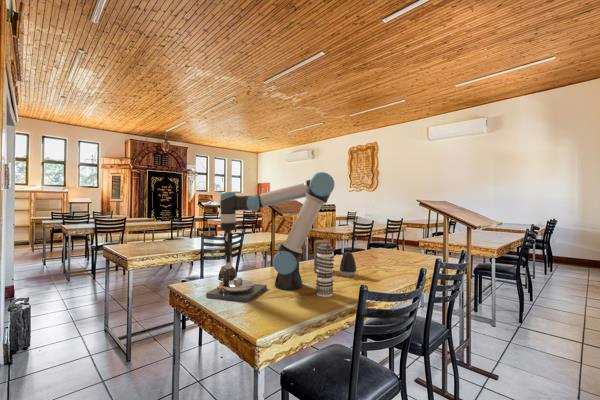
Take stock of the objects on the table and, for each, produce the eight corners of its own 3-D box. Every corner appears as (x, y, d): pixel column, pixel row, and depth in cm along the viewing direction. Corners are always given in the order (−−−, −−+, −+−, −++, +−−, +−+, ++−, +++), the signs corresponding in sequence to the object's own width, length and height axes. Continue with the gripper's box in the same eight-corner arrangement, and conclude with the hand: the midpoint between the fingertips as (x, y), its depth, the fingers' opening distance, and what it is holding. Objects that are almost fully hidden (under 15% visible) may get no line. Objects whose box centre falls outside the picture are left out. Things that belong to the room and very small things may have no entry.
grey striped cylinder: (313, 272, 193) (314, 241, 193) (315, 269, 202) (315, 239, 202) (329, 273, 191) (329, 242, 191) (330, 269, 201) (330, 240, 201)
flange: (248, 281, 160) (248, 264, 160) (258, 289, 146) (258, 270, 146) (213, 285, 151) (213, 267, 151) (220, 294, 137) (220, 275, 137)
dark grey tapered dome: (344, 273, 192) (344, 249, 192) (359, 275, 186) (359, 251, 186) (336, 276, 184) (336, 251, 184) (351, 278, 177) (351, 253, 177)
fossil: (232, 280, 169) (224, 264, 170) (219, 287, 171) (211, 271, 172) (240, 275, 180) (233, 260, 181) (228, 281, 182) (220, 266, 183)
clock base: (266, 288, 156) (266, 275, 156) (247, 302, 135) (247, 287, 135) (229, 284, 163) (230, 272, 163) (206, 297, 142) (206, 282, 142)
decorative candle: (329, 298, 142) (329, 246, 142) (312, 295, 146) (312, 244, 146) (336, 293, 150) (337, 243, 150) (320, 290, 154) (320, 242, 154)
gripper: (222, 221, 157) (223, 265, 157) (218, 223, 144) (219, 271, 144) (237, 221, 158) (237, 265, 158) (234, 223, 145) (234, 271, 145)
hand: (228, 268), depth 151 cm, fingers closed
